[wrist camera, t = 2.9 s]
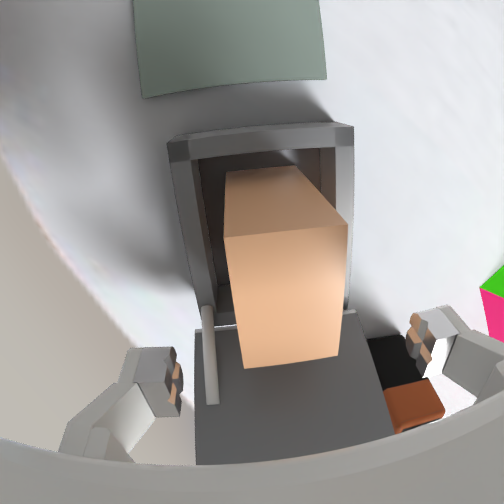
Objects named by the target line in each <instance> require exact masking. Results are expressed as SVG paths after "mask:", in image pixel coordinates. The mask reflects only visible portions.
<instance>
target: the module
mask: <svg viewBox="0 0 504 504" xmlns="http://www.w3.org/2000/svg"><path fill="white" fill-rule="evenodd" d="M347 240H348V224H347V223H346V221H345V220H344V219H343V218H342V217H341V216H340V214H339V213H338V212H337V211H336V210H335V209H334V208H333V206H332V205H331V204H330V203H329V202H328V201H327V200H326V198H325V197H324V196H323V195H322V194H321V193H320V192H319V191H318V190H317V188H316V187H315V186H314V185H313V184H312V183H311V182H310V181H309V180H308V179H307V178H306V176H305V175H304V174H303V173H302V172H301V171H300V170H299V169H298V168H297V167H296V166H295V165H292V166H280V167H269V168H258V169H248V170H239V171H230V172H226V183H225V210H224V244H225V251H226V258H227V265H228V271H229V278H230V284H231V291H232V297H233V304H234V310H235V316H236V323H237V329H238V335H239V341H240V347H241V353H242V359H243V365H244V369H247V368H256V367H265V366H273V365H281V364H288V363H295V362H302V361H308V360H315V359H321V358H327V357H332V356H338V350H339V341H340V332H341V323H342V312H343V301H344V289H345V275H346V260H347Z"/></svg>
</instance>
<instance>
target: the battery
mask: <svg viewBox="0 0 504 504" xmlns="http://www.w3.org/2000/svg"><path fill="white" fill-rule="evenodd" d="M366 341H367V344H368V347H369V350H370V353H371V356H372V359H373V362H374V365H375V368H376V371H377V374H378V377H379V381H380V384H381V387H382V390H383V394H384V397H385V400H386V404H387V407H388V411H389V414H390V418H391V421H392V425H393V429H394V432H395V434H399V433H402V432H405V431H408V430H411V429H414V428H417V427H420V426H423V425H425V424H428V423H431V422H434V421H436V420H439V419H441V418H442V417H443V416H444V414H445V408H444V406H443V404H442V402H441V401H440V399H439V397H438V395H437V393H436V391H435V390H434V388H433V386H432V384H431V382H430V381H429V379H428V377H424V378H423V377H422V375H421V374H420V372H419V370H418V368H417V367H416V361H417V360H416V359H414V358H412V357H410V355H409V353H408V351H407V348H406V340H405V338H404V337H403V336H402V335H397V336H391V337H384V338H378V339H370V340H366Z"/></svg>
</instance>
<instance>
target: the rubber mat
mask: <svg viewBox="0 0 504 504" xmlns="http://www.w3.org/2000/svg"><path fill="white" fill-rule="evenodd" d="M133 8H134V23H135V35H136V47H137V57H138V67H139V76H140V84H141V92H142V98H149V97H154V96H159V95H165V94H170V93H176V92H181V91H188V90H194V89H201V88H208V87H216V86H224V85H233V84H243V83H255V82H269V81H288V80H326V79H327V73H326V62H325V51H324V41H323V32H322V23H321V15H320V7H319V0H133Z"/></svg>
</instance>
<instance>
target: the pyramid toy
mask: <svg viewBox="0 0 504 504" xmlns="http://www.w3.org/2000/svg"><path fill="white" fill-rule="evenodd" d="M479 288H480V292H481V296H482V301H483V305H484V310H485V315H486V320H487V326H488V331H489V336H490V337H492V338H494V339H496V340H499V341H501V342H503V343H504V265H503V266H502V267H501V268H500V269H499V270H498V271H497V272H496V273H495V274H494V275H493V276H492V277H490V278H489V279H488V280H487V281H486V282H485V283H484V284H483V285H482V286H480V287H479Z"/></svg>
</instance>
